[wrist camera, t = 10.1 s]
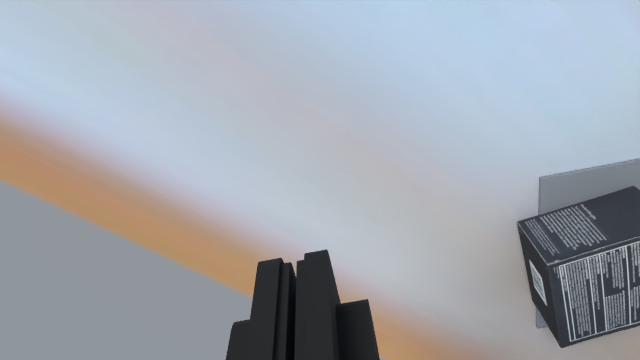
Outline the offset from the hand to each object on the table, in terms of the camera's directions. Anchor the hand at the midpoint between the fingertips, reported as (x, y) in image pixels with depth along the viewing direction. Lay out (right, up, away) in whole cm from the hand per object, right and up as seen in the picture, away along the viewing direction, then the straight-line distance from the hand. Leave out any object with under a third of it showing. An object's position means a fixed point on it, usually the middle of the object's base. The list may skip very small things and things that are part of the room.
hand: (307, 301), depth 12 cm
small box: (+19, -6, +31) cm, 37 cm away
